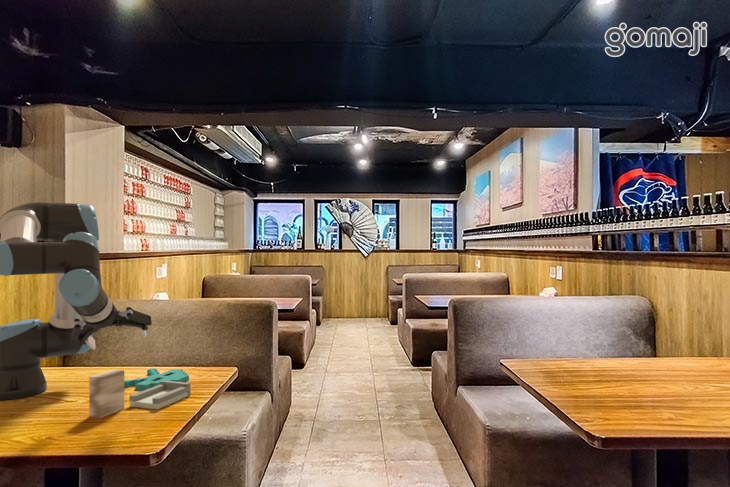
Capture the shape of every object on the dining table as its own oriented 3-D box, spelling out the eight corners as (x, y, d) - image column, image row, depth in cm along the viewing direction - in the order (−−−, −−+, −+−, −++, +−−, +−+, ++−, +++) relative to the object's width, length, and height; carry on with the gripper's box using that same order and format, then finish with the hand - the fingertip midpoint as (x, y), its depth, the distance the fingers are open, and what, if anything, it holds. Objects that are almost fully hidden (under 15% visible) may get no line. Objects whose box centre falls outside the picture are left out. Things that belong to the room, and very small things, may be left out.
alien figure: (111, 389, 154) (165, 392, 150) (111, 383, 154) (165, 385, 150) (151, 374, 174) (199, 376, 170) (151, 368, 174) (199, 370, 170)
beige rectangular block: (89, 416, 127) (89, 376, 127) (113, 407, 135) (113, 369, 135) (100, 418, 126) (100, 377, 126) (124, 408, 133) (124, 370, 134)
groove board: (129, 406, 135) (129, 393, 135) (164, 392, 149) (164, 380, 149) (158, 409, 132) (158, 396, 132) (191, 395, 145) (191, 382, 145)
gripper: (40, 336, 112) (72, 362, 129) (151, 311, 119) (166, 339, 137) (40, 308, 115) (71, 338, 133) (148, 285, 123) (163, 316, 140)
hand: (119, 339), depth 135 cm, fingers open, 13 cm apart
